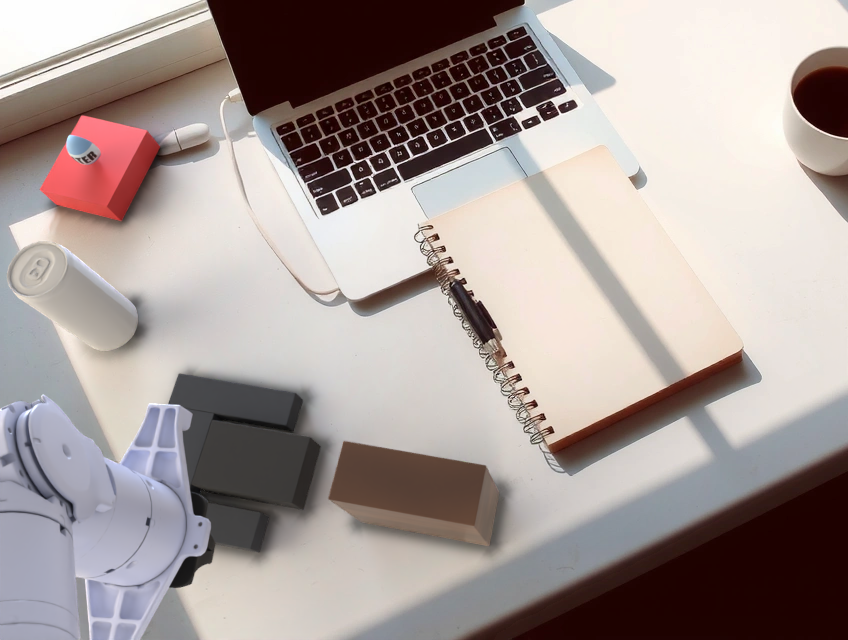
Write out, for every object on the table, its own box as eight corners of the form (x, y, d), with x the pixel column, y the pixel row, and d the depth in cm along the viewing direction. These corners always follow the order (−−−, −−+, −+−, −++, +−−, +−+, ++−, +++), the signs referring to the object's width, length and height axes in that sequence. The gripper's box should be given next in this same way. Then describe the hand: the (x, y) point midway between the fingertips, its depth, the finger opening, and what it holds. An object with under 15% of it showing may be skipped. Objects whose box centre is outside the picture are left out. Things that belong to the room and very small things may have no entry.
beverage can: (75, 342, 78) (-9, 286, 67) (105, 292, 80) (28, 230, 69) (122, 361, 77) (45, 308, 66) (152, 310, 79) (81, 250, 68)
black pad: (303, 510, 71) (292, 503, 68) (206, 492, 72) (191, 484, 69) (321, 446, 73) (310, 436, 70) (226, 429, 74) (212, 419, 71)
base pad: (259, 552, 70) (250, 549, 68) (137, 529, 71) (125, 524, 69) (303, 399, 75) (296, 392, 73) (188, 380, 76) (178, 372, 74)
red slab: (121, 221, 83) (86, 186, 77) (56, 204, 84) (17, 169, 79) (160, 146, 86) (129, 108, 80) (96, 131, 87) (61, 92, 82)
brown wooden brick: (489, 546, 69) (474, 526, 60) (360, 522, 70) (327, 499, 62) (499, 492, 70) (486, 465, 62) (373, 469, 72) (343, 440, 63)
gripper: (139, 680, 44) (237, 679, 56) (201, 385, 50) (278, 443, 62) (-1, 670, 45) (127, 671, 57) (77, 380, 51) (177, 438, 63)
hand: (198, 551), depth 60 cm, fingers closed
